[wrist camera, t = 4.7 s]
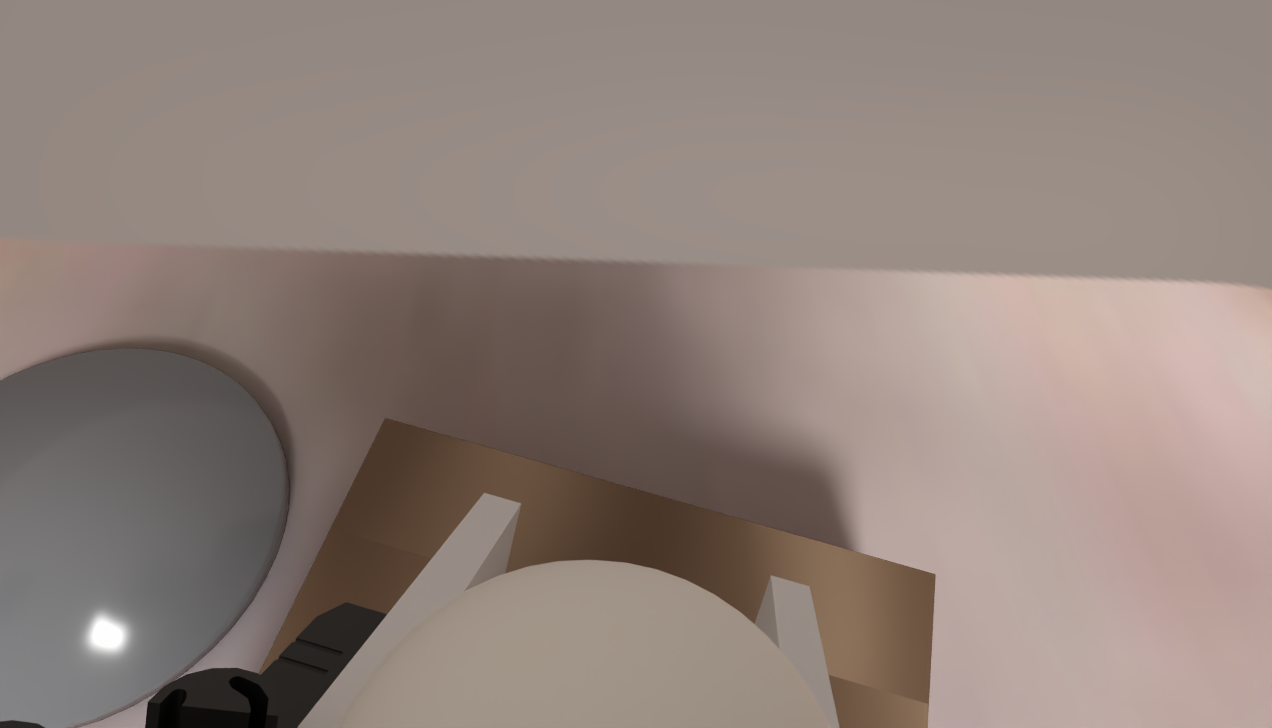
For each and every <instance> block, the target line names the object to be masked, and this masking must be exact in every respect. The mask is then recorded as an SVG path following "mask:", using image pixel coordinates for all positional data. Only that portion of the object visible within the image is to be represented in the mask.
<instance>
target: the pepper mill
mask: <svg viewBox="0 0 1272 728" xmlns="http://www.w3.org/2000/svg"><path fill="white" fill-rule="evenodd" d="M337 728H831V727H830V725H829V723H828V721H827V719H826V717H825V715H824V714H823V712H822V710H821V708H820V706H819V705H818V703H817V701H816V699H815V697H814V696H813V694H812V692H811V690H810V689H809V687H808V686H807V684H806V683H805V682H804V680H803V679H802V677H801V676H800V675H799V673H798V672H797V670H796V669H795V667H794V666H793V665H792V663H791V662H790V660H789V659H788V658H787V657H786V656H785V655H784V654H783V653H782V652H781V650H780V649H779V648H778V647H777V646H776V645H775V644H774V643H773V642H772V640H771V639H770V638H769V637H768V636H767V635H766V634H765V633H764V632H763V631H762V630H760V629H759V628H758V627H757V626H756V625H755V624H754V623H752V622H751V621H750V620H749V619H748V618H747V617H746V616H744V615H743V614H742V613H741V612H739V611H738V610H737V609H735V608H734V607H732V606H731V605H729V604H728V603H726V602H725V601H723V600H722V599H720V598H719V597H717V596H716V595H715V594H713V593H711V592H709V591H707V590H705V589H703V588H701V587H699V586H697V585H695V584H693V583H691V582H689V581H687V580H685V579H682V578H679V577H677V576H674V575H671V574H668V573H666V572H663V571H660V570H657V569H653V568H648V567H644V566H639V565H635V564H630V563H624V562H613V561H601V560H572V561H556V562H551V563H545V564H539V565H533V566H528V567H525V568H522V569H518V570H515V571H512V572H509V573H505V574H502V575H499V576H497V577H494V578H492V579H490V580H488V581H485V582H483V583H481V584H479V585H477V586H474V587H472V588H470V589H468V590H466V591H465V592H463V593H462V594H460V595H458V596H457V597H455V598H453V599H452V600H450V601H448V602H447V603H445V604H443V605H442V606H440V607H439V608H438V609H436V610H435V611H434V612H433V613H431V614H430V615H429V616H427V617H426V618H425V619H424V620H422V621H421V622H420V623H419V624H417V625H416V626H415V627H413V628H412V629H411V630H410V631H409V632H408V633H407V634H406V635H405V636H404V637H403V638H402V639H401V640H400V641H399V642H398V643H397V644H396V645H395V646H394V647H393V648H392V649H391V650H390V651H389V652H388V653H387V654H386V656H385V657H384V658H383V659H382V661H381V662H380V663H379V664H378V666H377V667H376V668H375V669H374V671H373V672H372V673H371V674H370V676H369V677H368V678H367V679H366V680H365V682H364V683H363V685H362V686H361V688H360V690H359V691H358V693H357V694H356V696H355V697H354V699H353V700H352V702H351V704H350V705H349V707H348V708H347V710H346V711H345V713H344V715H343V717H342V719H341V721H340V723H339V725H338V727H337Z"/></svg>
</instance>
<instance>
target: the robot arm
mask: <svg viewBox="0 0 1272 728" xmlns="http://www.w3.org/2000/svg"><path fill="white" fill-rule="evenodd" d="M520 507H521V503H518V502H515V501H511V500H508V499H504V498H501V497H497V496H494V495H490V494H487V493H484V494H483V495H482V496H481V497H480V499H479V500H478V501H477V502H476V504H475V505H474V506H473V507H472V509H471V510H470V511H469V513H468V514H467V515H466V516H465V518H464V519H463V520H462V521H461V523H460V524H459V525H458V526H457V528H456V529H455V530H454V531H453V533H452V534H451V535H450V536H449V538H448V539H447V540H446V541H445V543H444V544H443V545H442V546H441V548H440V549H439V550H438V551H437V553H436V554H435V555H434V556H433V558H432V559H431V560H430V561H429V563H428V564H427V565H426V567H425V568H424V569H423V570H422V572H421V573H420V574H419V575H418V577H417V578H416V579H415V580H414V582H413V583H412V584H411V585H410V587H409V588H408V589H407V590H406V592H405V593H404V594H403V595H402V597H401V598H400V599H399V600H398V602H397V603H396V604H395V605H394V607H393V608H392V609H391V610H390V612H389V613H388V614H385V613H381V612H378V611H375V610H371V609H368V608H365V607H361V606H358V605H355V604H351V603H348V602H345V603H343V604H341V605H339V606H337V607H335V608H333V609H331V610H329V611H327V612H325V613H323V614H321V615H319V616H317V617H316V618H315V619H314V620H313V621H312V622H311V623H310V624H309V625H308V626H307V627H306V628H305V629H304V630H303V631H302V632H301V633H300V634H299V635H298V636H297V637H296V640H295V642H292V643H291V644H290V645H289V646H288V647H287V648H286V649H285V650H284V651H283V652H282V653H281V654H280V655H279V658H278V660H274V661H273V662H272V664H271V665H270V666H269V667H268V668H267V669H266V670H265V671H264V672H263V673H262V674H261V675H260V674H258V673H254V672H250V671H246V670H243V669H239V668H212V669H208V670H204V671H199V672H195V673H191V674H187V675H185V676H183V677H181V678H179V679H177V680H175V681H173V682H171V683H169V684H167V685H166V686H164V687H163V688H162V689H161V690H160V691H159V692H158V693H157V694H156V695H155V696H154V697H153V698H152V699H151V700H150V701H149V702H148V706H147V716H146V726H145V728H337V727H338V725H339V723H340V721H341V719H342V717H343V715H344V713H345V711H346V710H347V708H348V707H349V705H350V704H351V702H352V700H353V699H354V697H355V696H356V694H357V693H358V691H359V690H360V688H361V686H362V685H363V683H364V682H365V680H366V679H367V678H368V677H369V676H370V674H371V673H372V672H373V671H374V669H375V668H376V667H377V666H378V664H379V663H380V662H381V661H382V659H383V658H384V657H385V656H386V654H387V653H388V652H389V651H390V650H391V649H392V648H393V647H394V646H395V645H396V644H397V643H398V642H399V641H400V640H401V639H402V638H403V637H404V636H405V635H406V634H407V633H408V632H409V631H410V630H411V629H412V628H413V627H415V626H416V625H417V624H419V623H420V622H421V621H422V620H424V619H425V618H426V617H427V616H429V615H430V614H431V613H433V612H434V611H435V610H436V609H438V608H439V607H440V606H442V605H443V604H445V603H447V602H448V601H450V600H452V599H453V598H455V597H457V596H458V595H460V594H462V593H463V592H465V591H466V590H468V589H470V588H472V587H474V586H477V585H479V584H481V583H483V582H485V581H488V580H490V579H492V578H494V577H497V576H499V575H502V574H505V572H506V568H507V564H508V559H509V555H510V551H511V546H512V542H513V538H514V533H515V529H516V525H517V520H518V516H519V512H520ZM755 625H756V626H757V627H758V628H759V629H760V630H762V631H763V632H764V633H765V634H766V635H767V636H768V637H769V638H770V639H771V640H772V642H773V643H774V644H775V645H776V646H777V647H778V648H779V649H780V650H781V652H782V653H783V654H784V655H785V656H786V657H787V658H788V659H789V660H790V662H791V663H792V665H793V666H794V667H795V669H796V670H797V672H798V673H799V675H800V676H801V677H802V679H803V680H804V682H805V683H806V684H807V686H808V687H809V689H810V690H811V692H812V694H813V696H814V697H815V699H816V701H817V703H818V705H819V706H820V708H821V710H822V712H823V714H824V715H825V717H826V719H827V721H828V723H829V725H830V727H831V728H840V727H839V723H838V718H837V713H836V708H835V704H834V699H833V694H832V690H831V685H830V680H829V675H828V671H827V666H826V661H825V657H824V652H823V647H822V642H821V638H820V633H819V628H818V623H817V619H816V614H815V609H814V605H813V600H812V595H811V590H810V586H807V585H803V584H800V583H796V582H793V581H789V580H786V579H782V578H779V577H775V576H772V575H771V576H770V579H769V582H768V585H767V588H766V591H765V594H764V597H763V600H762V603H761V606H760V609H759V612H758V615H757V618H756V621H755ZM0 728H45V727H43V726H41V725H40V724H38V723H31V722H23V721H15V720H9V721H0Z"/></svg>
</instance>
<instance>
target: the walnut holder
mask: <svg viewBox="0 0 1272 728" xmlns="http://www.w3.org/2000/svg"><path fill="white" fill-rule="evenodd" d="M484 493H487V494H490V495H494V496H497V497H501V498H504V499H508V500H511V501H515V502H518V503H521V507H520V512H519V516H518V520H517V525H516V529H515V533H514V538H513V542H512V546H511V551H510V555H509V559H508V564H507V568H506V572H505V573H509V572H512V571H515V570H518V569H522V568H525V567H528V566H533V565H539V564H545V563H551V562H556V561H572V560H601V561H613V562H624V563H630V564H635V565H639V566H644V567H648V568H653V569H657V570H660V571H663V572H666V573H668V574H671V575H674V576H677V577H679V578H682V579H685V580H687V581H689V582H691V583H693V584H695V585H697V586H699V587H701V588H703V589H705V590H707V591H709V592H711V593H713V594H715V595H716V596H717V597H719V598H720V599H722V600H723V601H725V602H726V603H728V604H729V605H731V606H732V607H734V608H735V609H737V610H738V611H739V612H741V613H742V614H743V615H744V616H746V617H747V618H748V619H749V620H750V621H751V622H752V623H754V624H755V621H756V618H757V615H758V612H759V609H760V606H761V603H762V600H763V597H764V594H765V591H766V588H767V585H768V582H769V579H770V576H771V575H772V576H775V577H779V578H782V579H786V580H789V581H793V582H796V583H800V584H803V585H807V586H810V590H811V595H812V600H813V605H814V609H815V614H816V619H817V623H818V628H819V633H820V638H821V642H822V647H823V652H824V657H825V661H826V666H827V671H828V675H829V680H830V685H831V690H832V694H833V699H834V704H835V708H836V713H837V718H838V723H839V727H840V728H928V709H929V689H930V670H931V651H932V632H933V613H934V593H935V574H932V573H929V572H925V571H922V570H918V569H915V568H911V567H908V566H904V565H901V564H897V563H894V562H890V561H887V560H883V559H880V558H876V557H873V556H869V555H866V554H862V553H859V552H855V551H851V550H848V549H844V548H841V547H837V546H834V545H830V544H827V543H823V542H820V541H816V540H813V539H809V538H806V537H802V536H799V535H795V534H792V533H788V532H785V531H781V530H778V529H774V528H770V527H767V526H763V525H760V524H756V523H753V522H749V521H746V520H742V519H739V518H735V517H732V516H728V515H725V514H721V513H718V512H714V511H711V510H707V509H704V508H700V507H697V506H693V505H690V504H686V503H682V502H679V501H675V500H672V499H668V498H665V497H661V496H658V495H654V494H651V493H647V492H644V491H640V490H637V489H633V488H630V487H626V486H623V485H619V484H616V483H612V482H609V481H605V480H601V479H598V478H594V477H591V476H587V475H584V474H580V473H577V472H573V471H570V470H566V469H563V468H559V467H556V466H552V465H549V464H545V463H542V462H538V461H535V460H531V459H528V458H524V457H521V456H517V455H513V454H510V453H506V452H503V451H499V450H496V449H492V448H489V447H485V446H482V445H478V444H475V443H471V442H468V441H464V440H461V439H457V438H454V437H450V436H447V435H443V434H440V433H436V432H432V431H429V430H425V429H422V428H418V427H415V426H411V425H408V424H404V423H401V422H397V421H394V420H390V419H387V418H385V420H384V422H383V424H382V426H381V428H380V430H379V432H378V434H377V436H376V438H375V440H374V442H373V444H372V446H371V448H370V450H369V452H368V454H367V456H366V458H365V460H364V462H363V464H362V466H361V468H360V470H359V472H358V474H357V476H356V478H355V480H354V482H353V484H352V486H351V488H350V490H349V492H348V495H347V497H346V499H345V501H344V503H343V505H342V507H341V509H340V511H339V513H338V515H337V517H336V519H335V521H334V523H333V525H332V527H331V529H330V531H329V533H328V535H327V537H326V539H325V541H324V543H323V545H322V547H321V549H320V551H319V553H318V555H317V557H316V559H315V561H314V563H313V565H312V567H311V569H310V571H309V573H308V575H307V577H306V579H305V581H304V583H303V585H302V587H301V589H300V592H299V594H298V596H297V598H296V600H295V602H294V604H293V606H292V608H291V610H290V612H289V614H288V616H287V618H286V620H285V622H284V624H283V626H282V628H281V630H280V632H279V634H278V636H277V638H276V640H275V642H274V644H273V646H272V648H271V650H270V652H269V654H268V656H267V658H266V660H265V662H264V664H263V666H262V668H261V670H260V672H259V674H260V675H261V674H262V673H263V672H264V671H265V670H266V669H267V668H268V667H269V666H270V665H271V664H272V662H273V661H274V660H278V658H279V655H280V654H281V653H282V652H283V651H284V650H285V649H286V648H287V647H288V646H289V645H290V644H291V643H292V642H295V640H296V637H297V636H298V635H299V634H300V633H301V632H302V631H303V630H304V629H305V628H306V627H307V626H308V625H309V624H310V623H311V622H312V621H313V620H314V619H315V618H316V617H317V616H319V615H321V614H323V613H325V612H327V611H329V610H331V609H333V608H335V607H337V606H339V605H341V604H343V603H345V602H348V603H351V604H355V605H358V606H361V607H365V608H368V609H371V610H375V611H378V612H381V613H385V614H388V613H389V612H390V610H391V609H392V608H393V607H394V605H395V604H396V603H397V602H398V600H399V599H400V598H401V597H402V595H403V594H404V593H405V592H406V590H407V589H408V588H409V587H410V585H411V584H412V583H413V582H414V580H415V579H416V578H417V577H418V575H419V574H420V573H421V572H422V570H423V569H424V568H425V567H426V565H427V564H428V563H429V561H430V560H431V559H432V558H433V556H434V555H435V554H436V553H437V551H438V550H439V549H440V548H441V546H442V545H443V544H444V543H445V541H446V540H447V539H448V538H449V536H450V535H451V534H452V533H453V531H454V530H455V529H456V528H457V526H458V525H459V524H460V523H461V521H462V520H463V519H464V518H465V516H466V515H467V514H468V513H469V511H470V510H471V509H472V507H473V506H474V505H475V504H476V502H477V501H478V500H479V499H480V497H481V496H482V495H483V494H484Z"/></svg>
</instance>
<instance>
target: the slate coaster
mask: <svg viewBox="0 0 1272 728" xmlns="http://www.w3.org/2000/svg"><path fill="white" fill-rule="evenodd" d="M288 506H289V477H288V469H287V461H286V458H285V455H284V451H283V448H282V444H281V441H280V439H279V437H278V435H277V433H276V431H275V429H274V427H273V425H272V423H271V422H270V420H269V419H268V418H267V416H266V415H265V413H264V412H263V411H262V409H261V408H260V406H259V405H258V404H257V402H256V401H255V400H254V398H253V397H252V396H251V395H250V394H249V393H248V392H247V391H246V390H245V389H244V388H243V387H242V386H241V385H240V384H238V383H237V382H236V381H234V380H233V379H231V378H230V377H229V376H227V375H226V374H225V373H223V372H221V371H219V370H217V369H216V368H214V367H212V366H210V365H208V364H206V363H204V362H201V361H198V360H195V359H193V358H190V357H187V356H184V355H179V354H175V353H170V352H166V351H160V350H150V349H139V348H134V349H107V350H98V351H89V352H84V353H80V354H75V355H70V356H65V357H61V358H58V359H55V360H51V361H48V362H45V363H42V364H38V365H36V366H33V367H31V368H28V369H26V370H23V371H21V372H18V373H16V374H13V375H11V376H9V377H7V378H5V379H3V380H1V381H0V721H9V720H15V721H23V722H31V723H38V724H40V725H41V726H43V727H45V728H78V727H81V726H84V725H88V724H91V723H94V722H97V721H100V720H102V719H105V718H107V717H109V716H111V715H114V714H116V713H118V712H121V711H123V710H125V709H127V708H130V707H132V706H133V705H135V704H137V703H139V702H140V701H142V700H144V699H146V698H147V697H149V696H151V695H153V694H155V693H156V692H158V691H160V690H161V689H162V688H163V687H164V686H166V685H167V684H169V683H171V682H172V681H174V680H175V679H177V678H178V677H180V676H181V675H182V674H184V673H185V672H187V671H188V670H189V669H190V668H191V667H192V666H194V665H195V664H196V663H197V662H198V661H199V660H200V659H202V658H203V657H204V656H205V655H206V654H207V653H208V652H210V651H211V650H212V649H213V648H214V647H215V646H216V644H217V643H218V642H219V641H220V640H221V639H222V638H223V637H224V636H225V635H226V634H227V633H228V632H229V631H230V629H231V628H232V627H233V626H234V625H235V624H236V622H237V621H238V620H239V618H240V617H241V616H242V614H243V613H244V612H245V610H246V609H247V608H248V606H249V605H250V604H251V602H252V601H253V599H254V597H255V596H256V594H257V592H258V591H259V589H260V587H261V586H262V584H263V582H264V581H265V579H266V577H267V575H268V572H269V570H270V568H271V566H272V564H273V561H274V559H275V557H276V555H277V552H278V549H279V546H280V542H281V539H282V536H283V533H284V530H285V524H286V518H287V512H288Z"/></svg>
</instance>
